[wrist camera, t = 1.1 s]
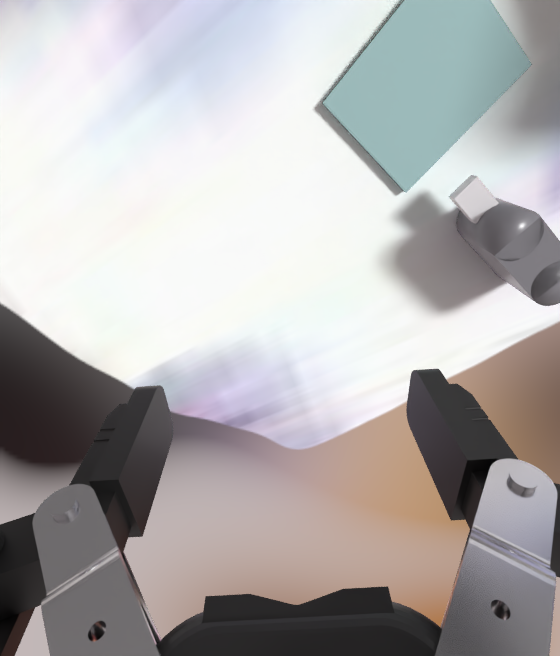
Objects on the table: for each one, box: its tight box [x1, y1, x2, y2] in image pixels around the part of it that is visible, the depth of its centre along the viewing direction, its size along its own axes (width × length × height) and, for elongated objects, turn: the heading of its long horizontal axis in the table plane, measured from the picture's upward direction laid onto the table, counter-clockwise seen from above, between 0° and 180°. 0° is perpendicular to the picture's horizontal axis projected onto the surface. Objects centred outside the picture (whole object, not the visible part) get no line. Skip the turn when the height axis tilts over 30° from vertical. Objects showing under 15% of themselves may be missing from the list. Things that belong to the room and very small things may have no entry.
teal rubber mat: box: [322, 0, 532, 192], centre depth 28 cm, size 12×10×1 cm
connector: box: [449, 175, 560, 306], centre depth 32 cm, size 4×13×6 cm, turn 49°
